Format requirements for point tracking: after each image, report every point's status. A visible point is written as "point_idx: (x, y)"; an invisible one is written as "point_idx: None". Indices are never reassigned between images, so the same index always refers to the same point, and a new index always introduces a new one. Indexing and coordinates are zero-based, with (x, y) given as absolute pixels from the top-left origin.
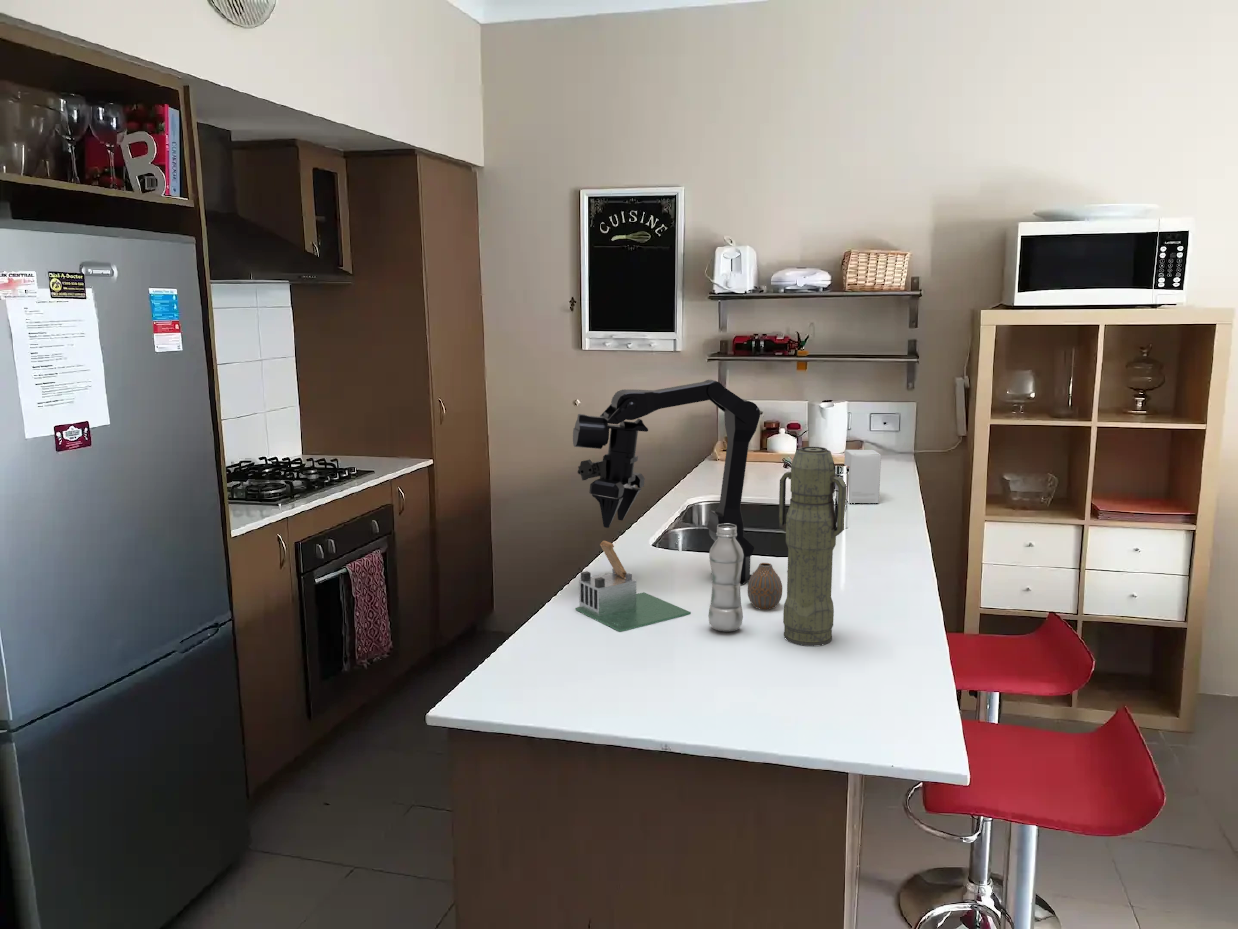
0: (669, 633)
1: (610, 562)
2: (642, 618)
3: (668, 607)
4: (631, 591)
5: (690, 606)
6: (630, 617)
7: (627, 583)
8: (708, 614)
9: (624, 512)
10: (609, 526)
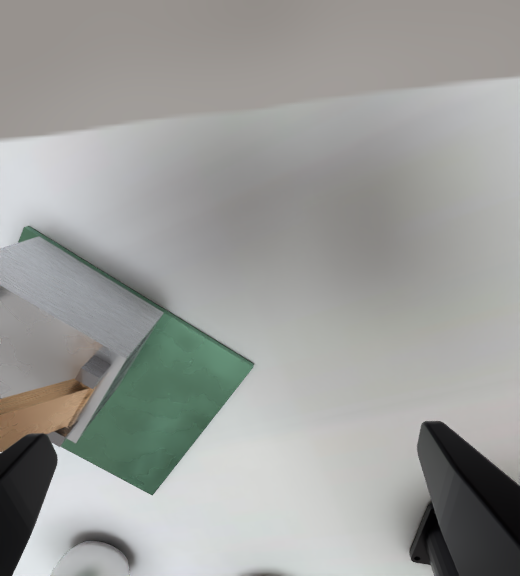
0: None
1: (14, 398)
2: None
3: (159, 450)
4: None
5: (206, 481)
6: None
7: None
8: (70, 563)
9: (451, 537)
10: (49, 473)
